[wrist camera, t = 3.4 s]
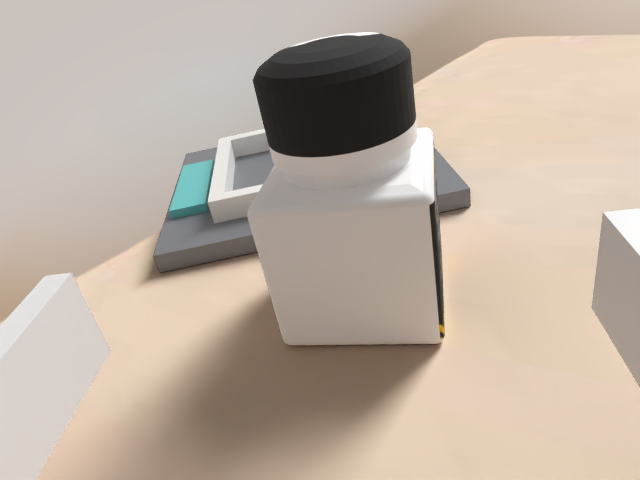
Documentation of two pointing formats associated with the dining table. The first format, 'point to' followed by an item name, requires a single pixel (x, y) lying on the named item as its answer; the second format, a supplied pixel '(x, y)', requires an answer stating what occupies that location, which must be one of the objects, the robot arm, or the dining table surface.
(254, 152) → the dock
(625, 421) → the dining table surface
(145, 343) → the dining table surface
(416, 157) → the medicine bottle
